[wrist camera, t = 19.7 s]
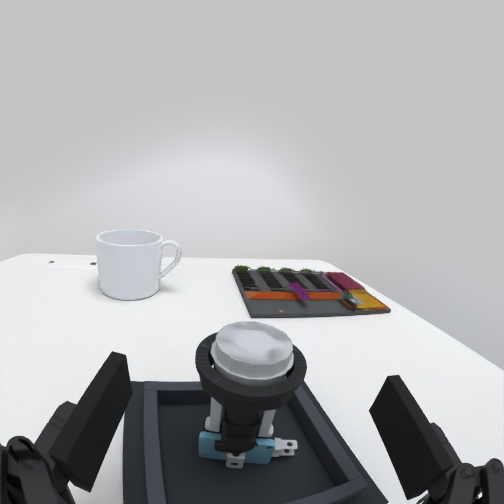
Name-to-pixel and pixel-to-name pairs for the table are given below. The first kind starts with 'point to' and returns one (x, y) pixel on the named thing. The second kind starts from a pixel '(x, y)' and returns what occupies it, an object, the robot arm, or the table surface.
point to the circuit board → (303, 294)
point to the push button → (247, 391)
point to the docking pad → (234, 479)
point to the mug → (131, 262)
